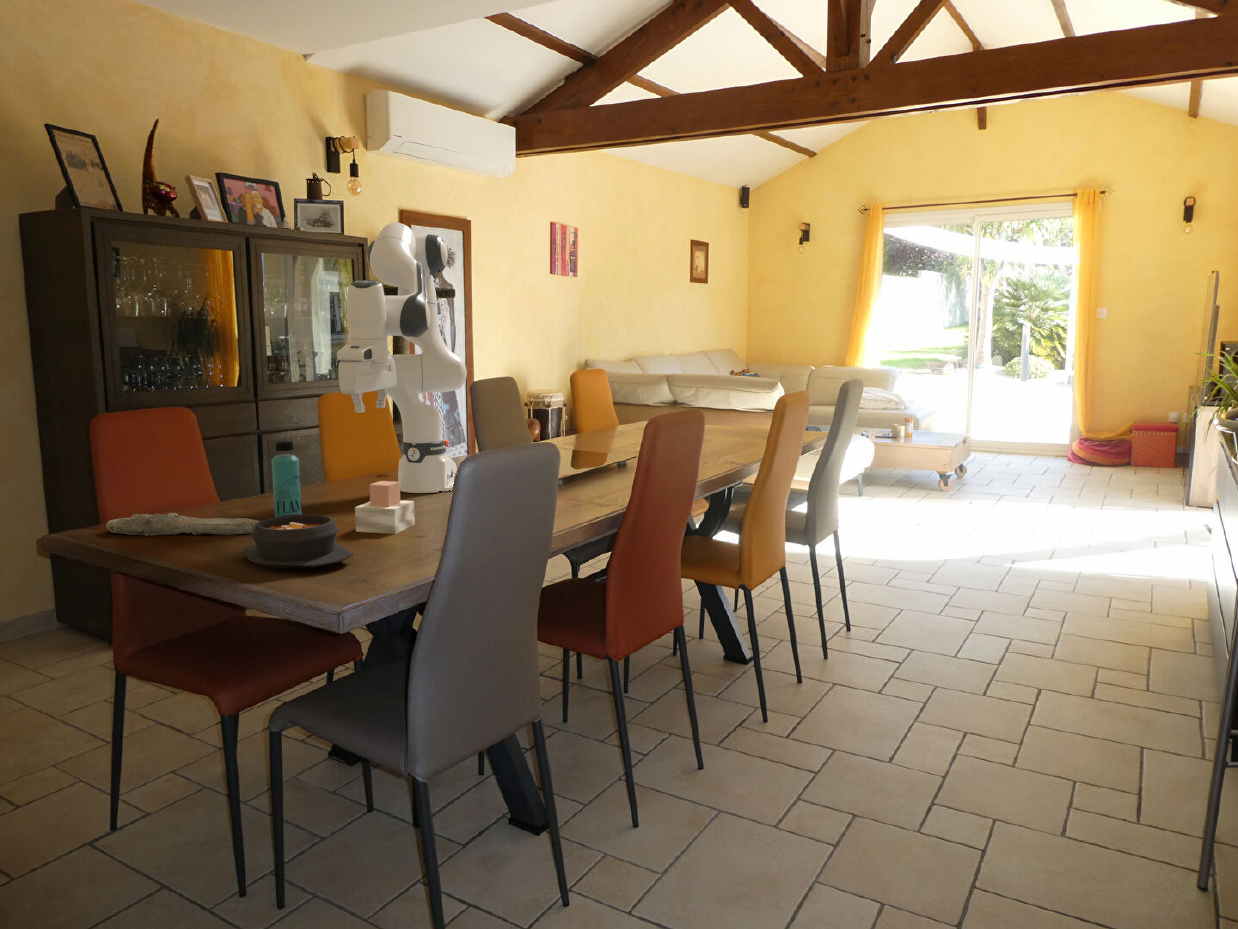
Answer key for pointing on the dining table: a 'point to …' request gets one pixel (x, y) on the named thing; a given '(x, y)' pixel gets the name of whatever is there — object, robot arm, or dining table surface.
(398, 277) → the robot arm
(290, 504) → the beverage bottle
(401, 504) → the base block
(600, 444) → the dining table surface
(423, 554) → the dining table surface
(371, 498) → the terracotta block
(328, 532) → the casserole
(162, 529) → the long grey stone
